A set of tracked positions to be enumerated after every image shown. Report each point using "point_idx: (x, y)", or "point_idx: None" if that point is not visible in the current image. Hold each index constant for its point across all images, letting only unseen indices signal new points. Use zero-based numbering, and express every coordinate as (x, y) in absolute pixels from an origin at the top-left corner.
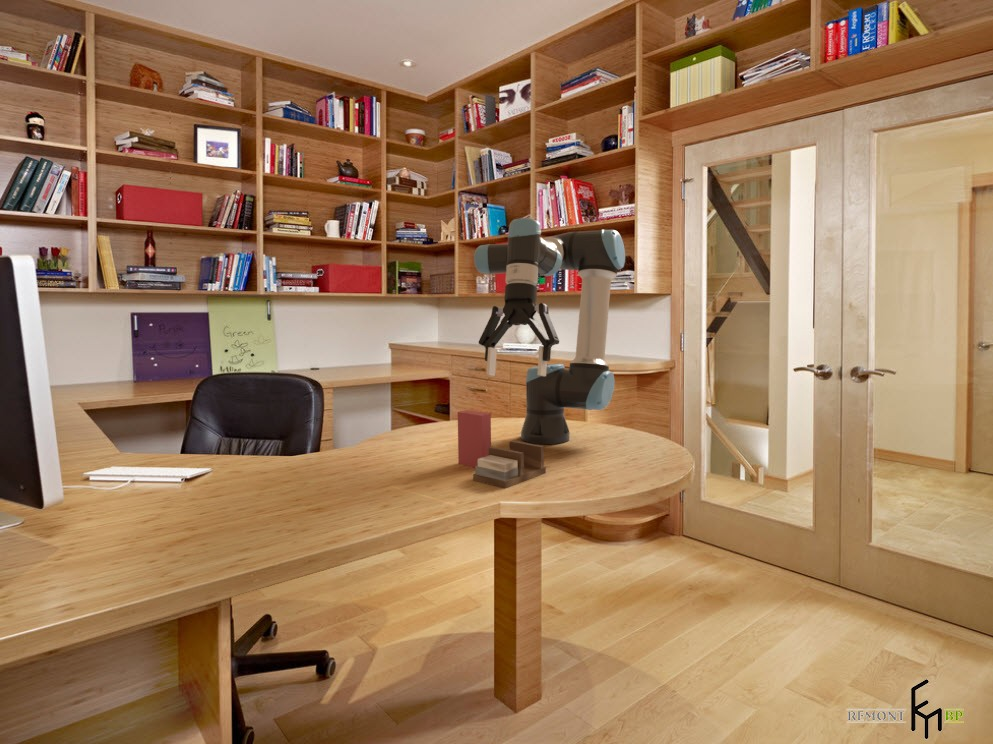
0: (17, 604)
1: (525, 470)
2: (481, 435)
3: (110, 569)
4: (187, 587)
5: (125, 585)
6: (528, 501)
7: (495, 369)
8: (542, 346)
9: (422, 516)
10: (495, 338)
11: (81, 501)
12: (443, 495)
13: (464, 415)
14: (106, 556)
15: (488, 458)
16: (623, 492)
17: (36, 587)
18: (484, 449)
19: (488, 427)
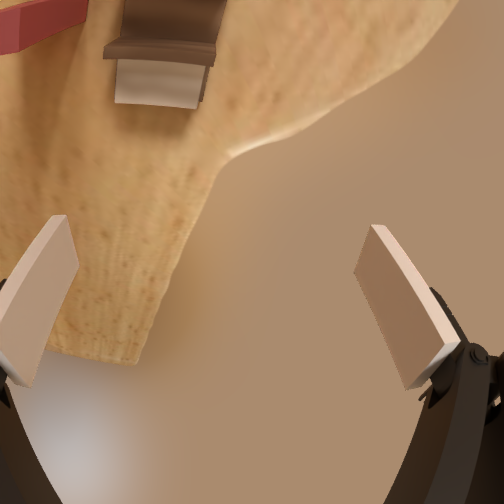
0: (107, 361)
1: (202, 12)
2: (47, 36)
3: (92, 346)
4: (144, 344)
5: (118, 349)
6: (271, 134)
7: (52, 238)
8: (423, 382)
9: (168, 237)
10: (26, 443)
11: None
12: (130, 173)
13: None
14: (71, 341)
15: (132, 85)
16: (411, 43)
17: (93, 356)
18: (67, 20)
19: (42, 11)
